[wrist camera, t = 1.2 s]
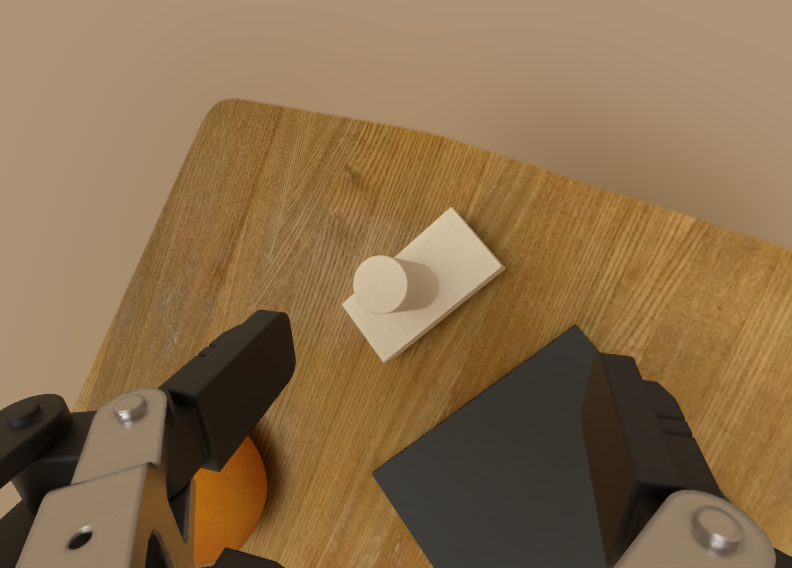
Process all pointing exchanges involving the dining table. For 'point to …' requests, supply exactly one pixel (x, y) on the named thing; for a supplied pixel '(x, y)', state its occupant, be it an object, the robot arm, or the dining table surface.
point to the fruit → (228, 503)
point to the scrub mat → (507, 472)
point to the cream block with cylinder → (419, 284)
